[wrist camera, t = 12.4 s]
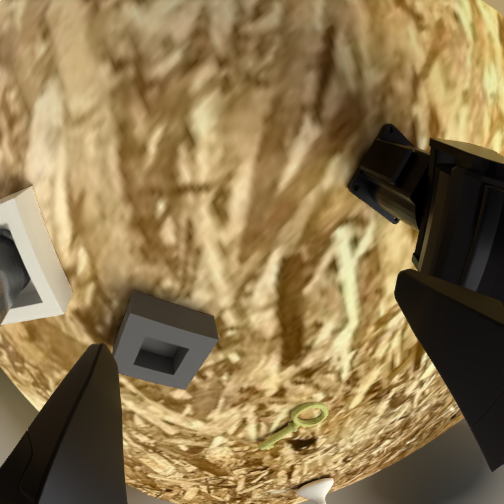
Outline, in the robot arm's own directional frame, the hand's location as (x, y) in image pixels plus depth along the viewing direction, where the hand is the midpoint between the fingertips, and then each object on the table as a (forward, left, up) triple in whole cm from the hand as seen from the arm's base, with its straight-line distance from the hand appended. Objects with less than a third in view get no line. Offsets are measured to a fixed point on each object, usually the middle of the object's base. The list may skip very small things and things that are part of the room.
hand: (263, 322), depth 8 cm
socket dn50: (+13, +11, -13) cm, 21 cm away
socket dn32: (-2, +13, -13) cm, 18 cm away
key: (-25, +25, -14) cm, 38 cm away
